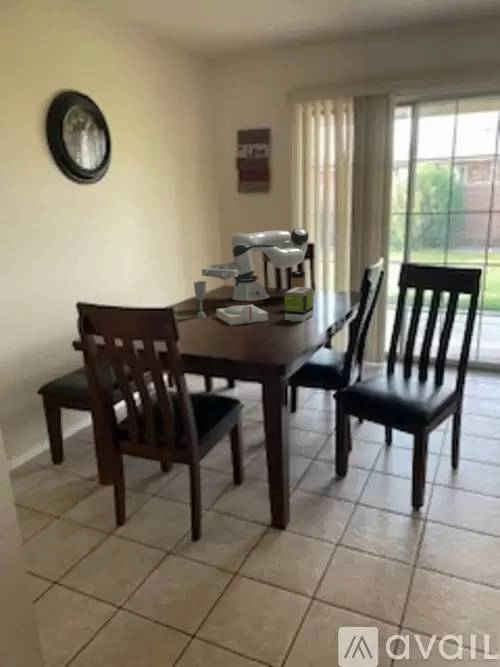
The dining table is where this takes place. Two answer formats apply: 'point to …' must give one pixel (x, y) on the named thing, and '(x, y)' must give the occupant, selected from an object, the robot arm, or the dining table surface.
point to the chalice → (200, 295)
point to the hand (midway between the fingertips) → (213, 274)
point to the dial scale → (242, 314)
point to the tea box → (298, 304)
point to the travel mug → (297, 279)
